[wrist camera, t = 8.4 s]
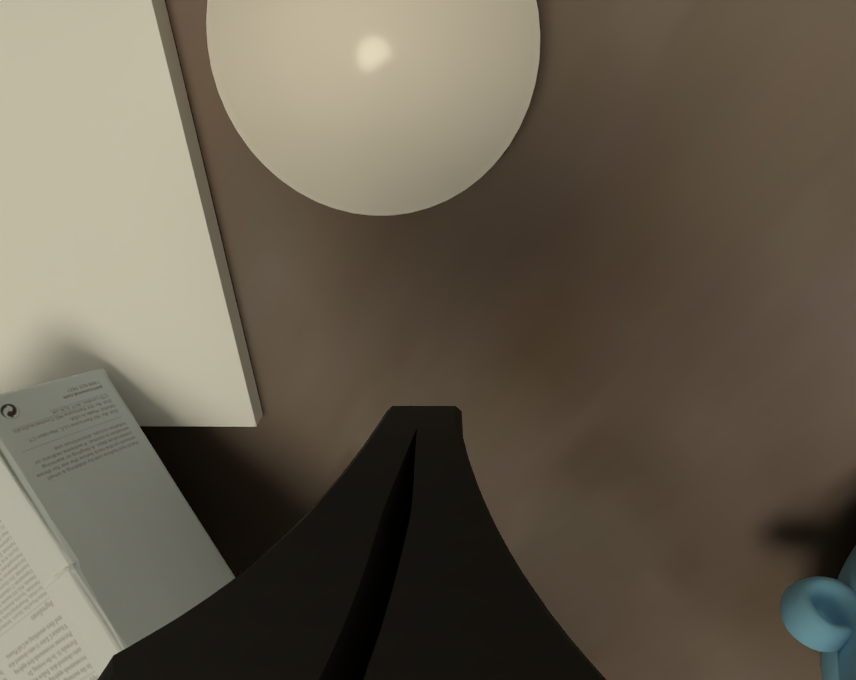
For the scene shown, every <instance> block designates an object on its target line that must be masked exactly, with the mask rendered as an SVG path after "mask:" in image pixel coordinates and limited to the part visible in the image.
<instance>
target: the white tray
mask: <svg viewBox="0 0 856 680" xmlns="http://www.w3.org/2000/svg"><path fill="white" fill-rule="evenodd" d="M97 369H105V370H106V373H107V376H108V377H109V379H110V381H111V382H112V384H113V385H114V387H115V389H116V390H117V392H118V394H119V395H120V397H121V398H122V400H123V401H124V403H125V405H126V406H127V408H128V409H129V411H130V412H131V414H132V415H133V417H134V418H135V420H136V422H137V423H138V425H139V426H214V427H257V425H258V423H259V421H260V419H261V417H262V415H263V413H262V408H261V404H260V400H259V396H258V391H257V387H256V383H255V379H254V375H253V370H252V366H251V362H250V358H249V354H248V349H247V345H246V341H245V337H244V333H243V328H242V324H241V320H240V316H239V311H238V307H237V303H236V299H235V295H234V290H233V286H232V282H231V278H230V274H229V269H228V265H227V261H226V257H225V253H224V248H223V244H222V240H221V236H220V232H219V227H218V223H217V219H216V215H215V210H214V206H213V202H212V198H211V194H210V189H209V185H208V181H207V177H206V173H205V168H204V164H203V160H202V156H201V152H200V147H199V143H198V139H197V135H196V130H195V126H194V122H193V118H192V114H191V109H190V105H189V101H188V97H187V93H186V88H185V84H184V80H183V76H182V72H181V67H180V63H179V59H178V55H177V50H176V46H175V42H174V38H173V34H172V29H171V25H170V21H169V17H168V13H167V8H166V4H165V0H0V394H1V393H5V392H9V391H14V390H18V389H22V388H26V387H30V386H34V385H38V384H42V383H46V382H50V381H54V380H58V379H62V378H66V377H70V376H74V375H78V374H81V373H85V372H89V371H93V370H97Z"/></svg>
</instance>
